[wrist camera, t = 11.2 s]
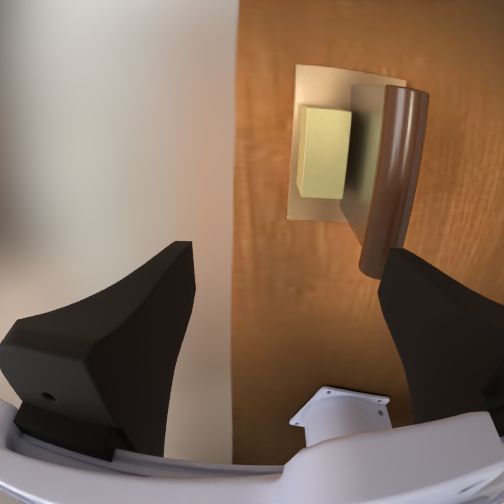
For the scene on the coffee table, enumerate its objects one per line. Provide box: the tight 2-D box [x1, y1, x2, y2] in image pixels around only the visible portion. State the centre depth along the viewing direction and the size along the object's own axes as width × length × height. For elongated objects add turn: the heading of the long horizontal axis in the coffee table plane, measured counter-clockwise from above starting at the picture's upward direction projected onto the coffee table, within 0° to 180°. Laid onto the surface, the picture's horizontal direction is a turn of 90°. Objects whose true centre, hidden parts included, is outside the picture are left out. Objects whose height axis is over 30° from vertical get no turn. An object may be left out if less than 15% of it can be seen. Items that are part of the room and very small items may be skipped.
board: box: [287, 64, 406, 222], centre depth 19 cm, size 7×10×1 cm
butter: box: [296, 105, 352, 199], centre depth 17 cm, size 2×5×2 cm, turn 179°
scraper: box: [339, 85, 429, 280], centre depth 15 cm, size 2×8×8 cm, turn 179°
